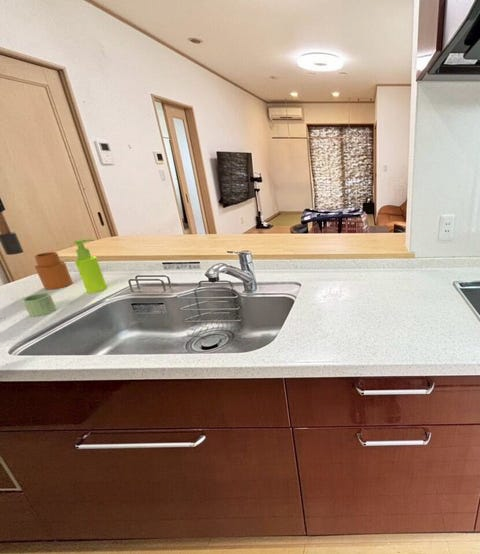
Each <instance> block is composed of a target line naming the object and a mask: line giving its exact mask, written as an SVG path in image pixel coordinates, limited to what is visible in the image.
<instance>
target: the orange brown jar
mask: <svg viewBox="0 0 480 554" xmlns="http://www.w3.org/2000/svg"><path fill="white" fill-rule="evenodd" d="M34 259H35V262H36V263H37V264H36V265H35V266H34V268H35V270H36V272H37V275H38V277H39V279H40V282H41V284H42V286H43V288H44V289H45V290H49V291H51V290H57V289H58V290H59V289H62V288H63V289H64V288H66V287H69V286H71V285H72V284H73V283H74V282H73V279H72V277H71V274H70V272H69V269H68V267H67V264H66V261H64V260H61V259H60V257H59V254H58V252H57V251H49V252H48V251H47V252H41V253H38V254H35V255H34Z"/></svg>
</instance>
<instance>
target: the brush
mask: <svg viewBox="0 0 480 554" xmlns="http://www.w3.org/2000/svg"><path fill="white" fill-rule="evenodd" d="M3 213H4V212H0V245H1V248H2V249H3V252H4V253H5V255H8V256H11V255H18V254H22V253H24V249H23V247H22V244H21V242H20V239H19V237H18V235H17V233H16V232H15V231H11V229H10V226H9V224H8V223H7V220H6V218H5V215H4V214H3Z"/></svg>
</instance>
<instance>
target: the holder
mask: <svg viewBox="0 0 480 554" xmlns="http://www.w3.org/2000/svg"><path fill="white" fill-rule="evenodd" d="M21 301H22V303H23V306H24V308H25V310H26V312H27V314H28V316H29V317H31V318H38V317H43V316H47V315H50V314H52V313H55V312H56V311H57V310H58V309H57V306H56V304H55V301H54V299H53V297H52V295H51V293H50V292H42V293H41V292H40V293H35V294H31V295H28V296H26V297H24V298H22V300H21Z"/></svg>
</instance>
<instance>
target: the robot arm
mask: <svg viewBox="0 0 480 554" xmlns="http://www.w3.org/2000/svg"><path fill="white" fill-rule="evenodd" d="M4 211H6V208H5V205H4V203H3V200H2V198H1V197H0V212H2V213H4Z"/></svg>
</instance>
